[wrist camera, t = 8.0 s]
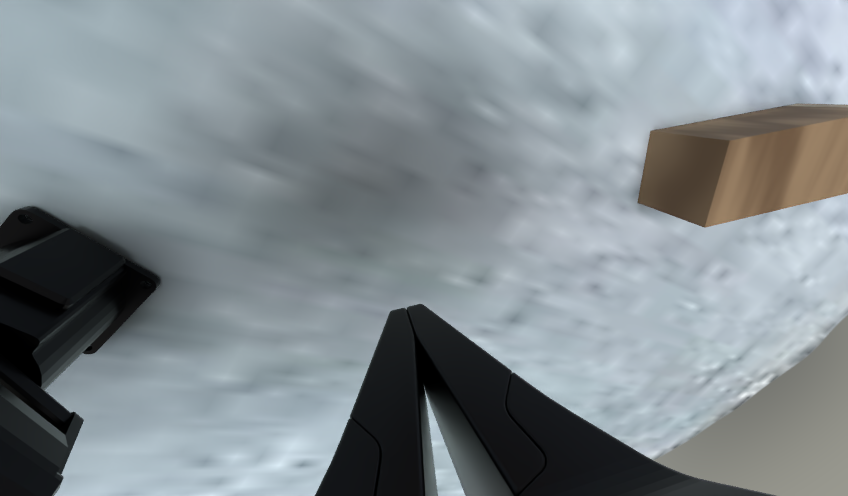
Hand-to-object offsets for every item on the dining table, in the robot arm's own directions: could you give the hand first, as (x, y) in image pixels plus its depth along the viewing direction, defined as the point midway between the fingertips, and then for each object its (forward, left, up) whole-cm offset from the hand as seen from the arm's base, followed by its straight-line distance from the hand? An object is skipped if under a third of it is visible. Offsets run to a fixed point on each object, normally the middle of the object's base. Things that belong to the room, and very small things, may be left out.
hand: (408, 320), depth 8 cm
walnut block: (+14, -12, -10) cm, 21 cm away
